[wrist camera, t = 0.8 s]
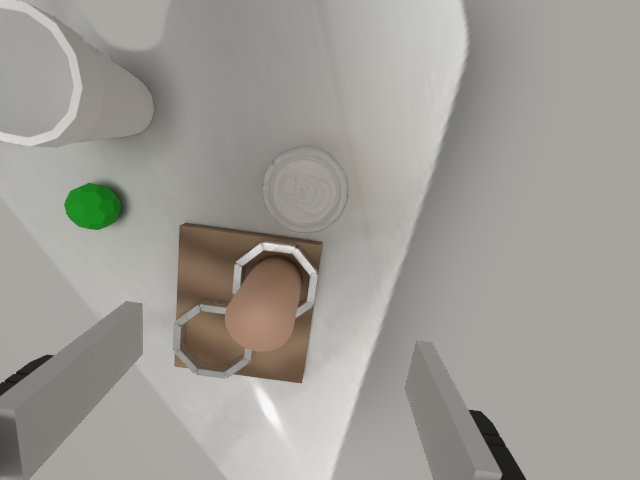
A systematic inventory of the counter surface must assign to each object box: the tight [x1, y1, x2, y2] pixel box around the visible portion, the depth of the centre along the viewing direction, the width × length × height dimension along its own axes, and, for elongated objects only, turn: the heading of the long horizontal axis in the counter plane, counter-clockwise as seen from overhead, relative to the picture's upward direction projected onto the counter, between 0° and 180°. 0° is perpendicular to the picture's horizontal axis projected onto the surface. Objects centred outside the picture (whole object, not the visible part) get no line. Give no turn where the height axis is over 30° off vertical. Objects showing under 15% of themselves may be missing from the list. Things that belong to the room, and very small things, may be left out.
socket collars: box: [173, 239, 318, 378], centre depth 38 cm, size 17×16×2 cm
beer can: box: [262, 147, 348, 233], centre depth 30 cm, size 6×6×15 cm
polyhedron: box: [64, 183, 121, 230], centre depth 36 cm, size 5×5×5 cm
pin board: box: [174, 223, 322, 383], centre depth 40 cm, size 18×16×2 cm
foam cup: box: [0, 0, 154, 147], centre depth 29 cm, size 10×9×13 cm
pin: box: [225, 255, 303, 352], centre depth 33 cm, size 6×6×10 cm
